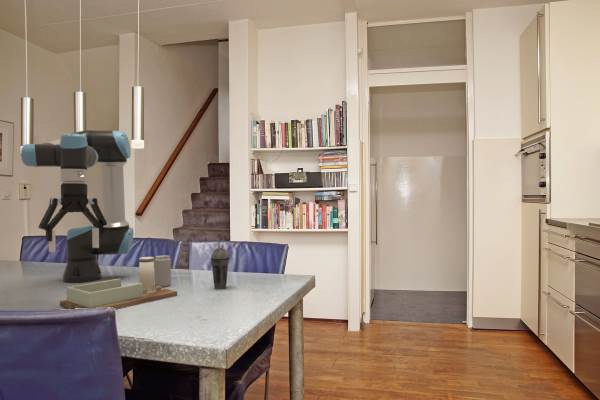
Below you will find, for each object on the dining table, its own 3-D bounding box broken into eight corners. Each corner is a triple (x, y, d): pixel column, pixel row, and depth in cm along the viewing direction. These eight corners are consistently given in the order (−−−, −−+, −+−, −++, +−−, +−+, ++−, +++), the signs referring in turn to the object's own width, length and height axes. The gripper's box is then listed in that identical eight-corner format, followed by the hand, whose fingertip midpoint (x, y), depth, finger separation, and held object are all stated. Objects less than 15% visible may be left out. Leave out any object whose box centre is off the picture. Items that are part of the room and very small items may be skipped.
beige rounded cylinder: (136, 290, 156) (136, 257, 156) (148, 288, 160) (148, 256, 160) (144, 292, 153) (144, 259, 153) (156, 290, 157) (156, 257, 157)
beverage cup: (233, 286, 170) (232, 236, 170) (223, 290, 163) (223, 238, 163) (216, 285, 172) (216, 235, 172) (207, 289, 166) (206, 237, 165)
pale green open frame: (66, 300, 142) (66, 287, 142) (119, 290, 156) (119, 278, 156) (89, 307, 132) (88, 293, 132) (143, 296, 147) (142, 283, 147)
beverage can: (166, 287, 169) (165, 257, 169) (151, 287, 170) (150, 257, 170) (173, 284, 175) (173, 255, 175) (159, 283, 176) (159, 254, 176)
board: (59, 305, 142) (59, 296, 142) (145, 288, 168) (145, 280, 168) (89, 315, 130) (89, 305, 130) (177, 295, 155) (177, 287, 155)
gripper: (36, 181, 124) (37, 254, 124) (117, 183, 144) (118, 246, 144) (25, 182, 128) (26, 253, 128) (105, 184, 148) (106, 245, 148)
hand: (74, 249), depth 136 cm, fingers open, 13 cm apart
